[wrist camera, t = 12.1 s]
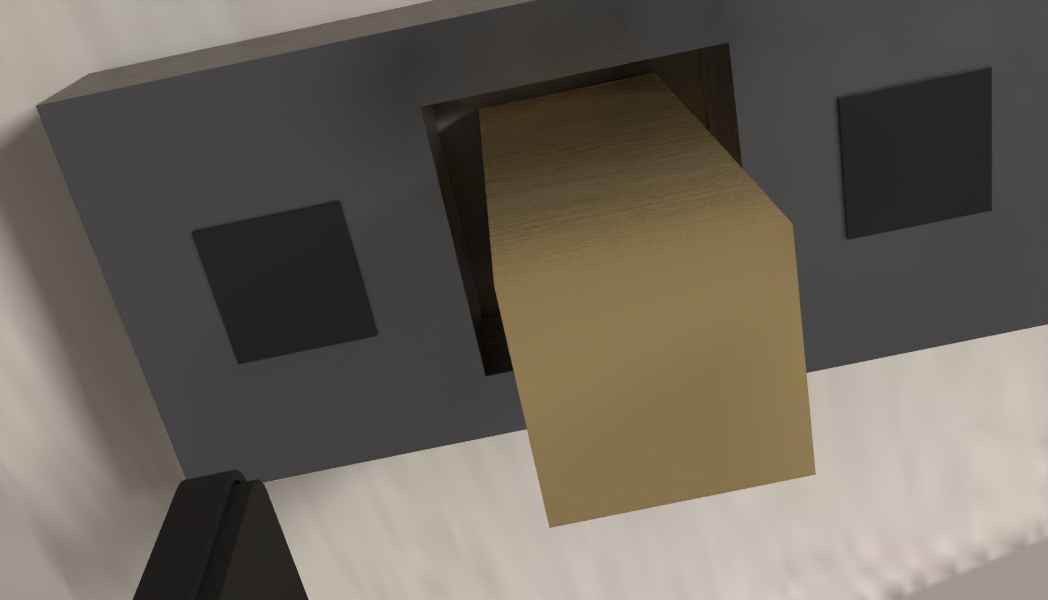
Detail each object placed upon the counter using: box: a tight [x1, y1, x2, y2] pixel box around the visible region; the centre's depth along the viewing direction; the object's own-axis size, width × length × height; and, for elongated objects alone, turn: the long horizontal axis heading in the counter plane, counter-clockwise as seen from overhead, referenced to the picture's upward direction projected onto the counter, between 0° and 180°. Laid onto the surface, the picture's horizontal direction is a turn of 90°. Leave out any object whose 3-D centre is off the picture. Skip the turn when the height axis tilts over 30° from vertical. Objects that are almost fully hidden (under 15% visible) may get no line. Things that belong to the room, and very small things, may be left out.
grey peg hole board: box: [36, 0, 1048, 482], centre depth 22 cm, size 9×20×3 cm, turn 101°
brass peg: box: [479, 72, 815, 528], centre depth 19 cm, size 4×4×10 cm
